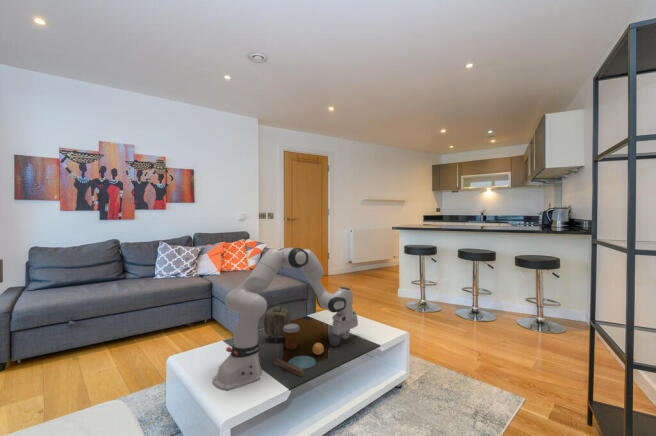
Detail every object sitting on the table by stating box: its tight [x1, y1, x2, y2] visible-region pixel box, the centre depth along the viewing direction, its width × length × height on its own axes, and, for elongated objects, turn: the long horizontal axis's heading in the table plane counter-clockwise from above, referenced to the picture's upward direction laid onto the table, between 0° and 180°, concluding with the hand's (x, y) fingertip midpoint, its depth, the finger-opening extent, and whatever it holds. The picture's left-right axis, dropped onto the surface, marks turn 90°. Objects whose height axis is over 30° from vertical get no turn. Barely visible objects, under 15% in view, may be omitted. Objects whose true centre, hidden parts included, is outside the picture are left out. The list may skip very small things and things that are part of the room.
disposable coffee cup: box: [283, 323, 301, 350], centre depth 178 cm, size 10×10×12 cm
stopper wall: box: [272, 357, 305, 377], centre depth 152 cm, size 2×20×2 cm, turn 48°
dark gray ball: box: [329, 334, 341, 347], centre depth 179 cm, size 6×6×6 cm
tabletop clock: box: [263, 298, 292, 343], centre depth 188 cm, size 14×9×25 cm, turn 84°
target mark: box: [287, 355, 317, 370], centre depth 159 cm, size 14×14×1 cm
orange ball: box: [312, 342, 325, 356], centre depth 168 cm, size 6×6×6 cm
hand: (345, 337), depth 186 cm, fingers closed
